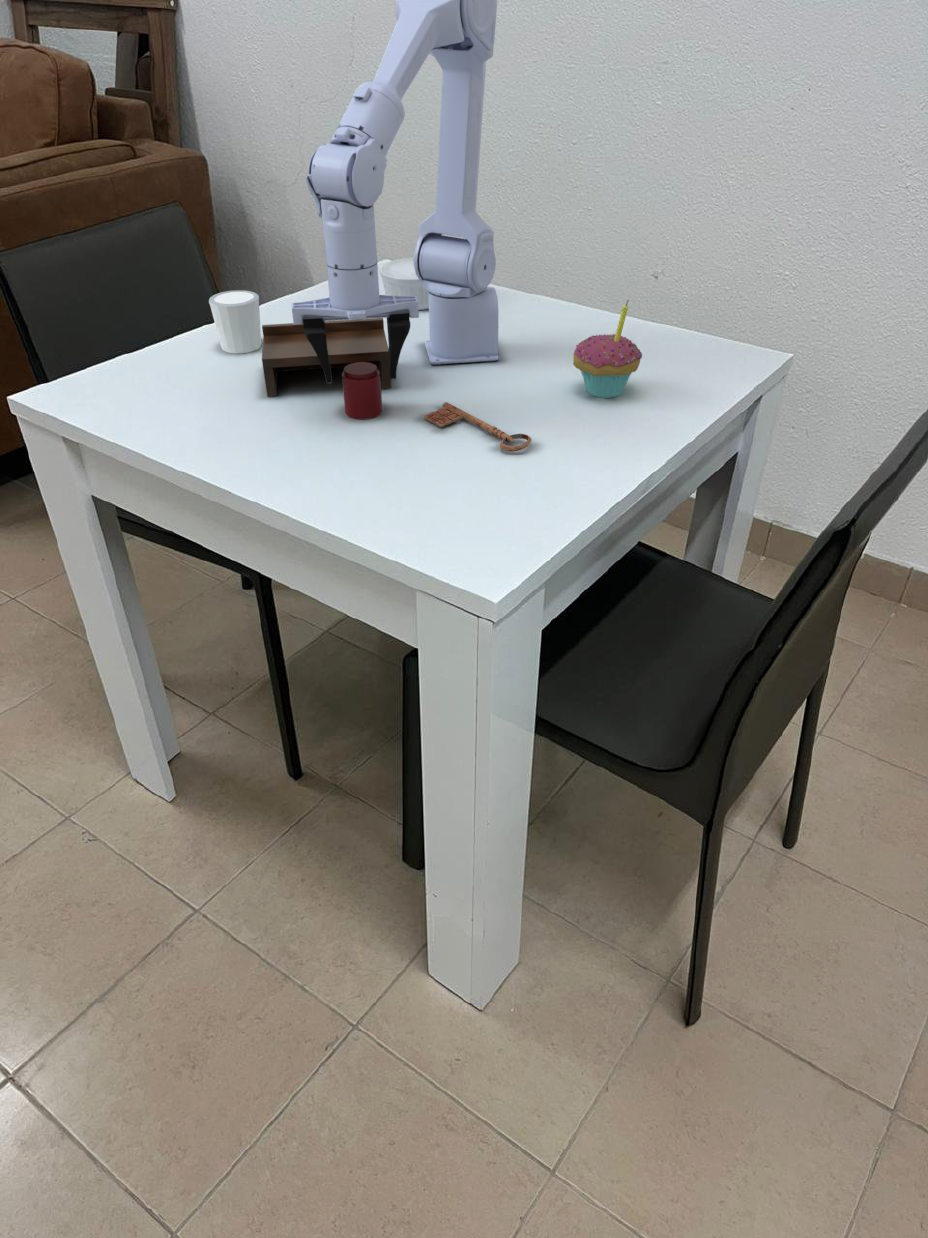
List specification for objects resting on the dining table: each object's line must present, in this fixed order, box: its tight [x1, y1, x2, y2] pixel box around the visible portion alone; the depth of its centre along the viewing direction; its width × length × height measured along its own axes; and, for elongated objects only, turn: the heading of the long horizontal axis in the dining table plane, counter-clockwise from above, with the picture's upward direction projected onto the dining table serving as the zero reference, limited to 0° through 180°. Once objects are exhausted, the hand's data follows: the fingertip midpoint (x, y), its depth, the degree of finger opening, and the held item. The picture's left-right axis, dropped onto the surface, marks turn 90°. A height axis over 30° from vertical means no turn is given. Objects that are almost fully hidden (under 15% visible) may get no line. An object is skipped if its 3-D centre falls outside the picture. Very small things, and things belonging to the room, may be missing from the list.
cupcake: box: [572, 299, 643, 399], centre depth 115 cm, size 9×8×12 cm
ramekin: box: [379, 257, 429, 311], centre depth 146 cm, size 11×11×5 cm
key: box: [423, 401, 532, 452], centre depth 109 cm, size 6×1×15 cm
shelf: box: [261, 318, 392, 398], centre depth 121 cm, size 16×9×6 cm, turn 99°
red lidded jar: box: [341, 362, 383, 420], centre depth 113 cm, size 5×5×6 cm
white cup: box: [208, 289, 262, 355], centre depth 130 cm, size 7×7×7 cm
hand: (360, 377), depth 112 cm, fingers open, 7 cm apart
